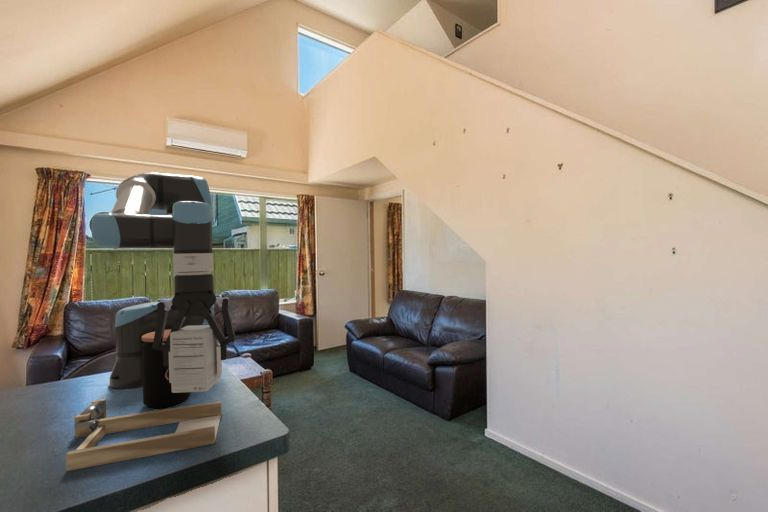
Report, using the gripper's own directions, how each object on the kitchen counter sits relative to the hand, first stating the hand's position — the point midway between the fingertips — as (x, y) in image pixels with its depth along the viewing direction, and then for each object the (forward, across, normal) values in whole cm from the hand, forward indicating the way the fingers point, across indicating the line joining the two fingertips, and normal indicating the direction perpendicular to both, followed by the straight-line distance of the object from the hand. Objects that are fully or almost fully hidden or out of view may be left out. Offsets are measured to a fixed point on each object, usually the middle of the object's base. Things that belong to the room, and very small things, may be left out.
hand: (196, 377), depth 76 cm
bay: (+12, -8, 0) cm, 14 cm away
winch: (+12, -22, +10) cm, 27 cm away
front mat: (+12, 0, 0) cm, 12 cm away
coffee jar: (+12, -10, +20) cm, 25 cm away
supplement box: (+2, 0, 0) cm, 2 cm away
